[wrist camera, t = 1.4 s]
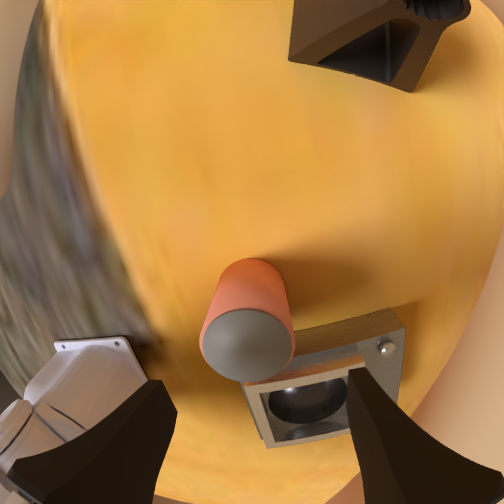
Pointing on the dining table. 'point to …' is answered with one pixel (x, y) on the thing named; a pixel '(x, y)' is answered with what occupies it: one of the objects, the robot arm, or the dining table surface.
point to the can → (248, 323)
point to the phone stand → (372, 36)
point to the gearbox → (325, 378)
